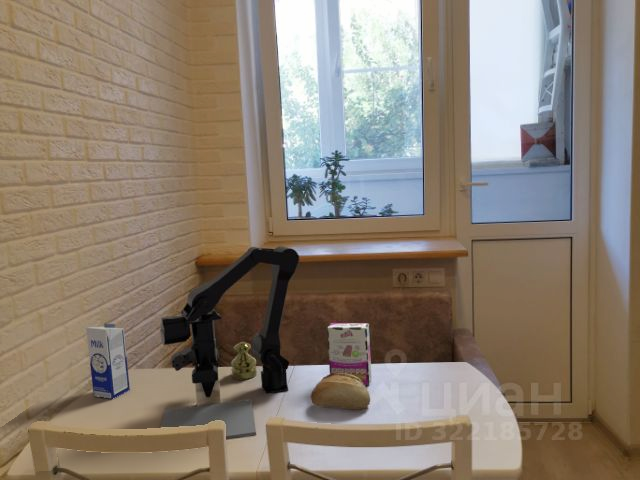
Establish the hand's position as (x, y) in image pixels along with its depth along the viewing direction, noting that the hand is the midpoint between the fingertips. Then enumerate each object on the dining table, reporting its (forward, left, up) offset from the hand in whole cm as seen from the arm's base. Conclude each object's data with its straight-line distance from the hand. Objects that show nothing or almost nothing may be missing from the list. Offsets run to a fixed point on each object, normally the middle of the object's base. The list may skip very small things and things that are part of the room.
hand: (208, 395), depth 137 cm
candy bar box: (-39, -3, -2) cm, 39 cm away
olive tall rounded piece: (-10, -17, -2) cm, 20 cm away
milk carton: (+27, -15, -2) cm, 31 cm away
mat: (0, +11, -2) cm, 11 cm away
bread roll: (-33, +11, -3) cm, 35 cm away
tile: (0, 0, -2) cm, 2 cm away
